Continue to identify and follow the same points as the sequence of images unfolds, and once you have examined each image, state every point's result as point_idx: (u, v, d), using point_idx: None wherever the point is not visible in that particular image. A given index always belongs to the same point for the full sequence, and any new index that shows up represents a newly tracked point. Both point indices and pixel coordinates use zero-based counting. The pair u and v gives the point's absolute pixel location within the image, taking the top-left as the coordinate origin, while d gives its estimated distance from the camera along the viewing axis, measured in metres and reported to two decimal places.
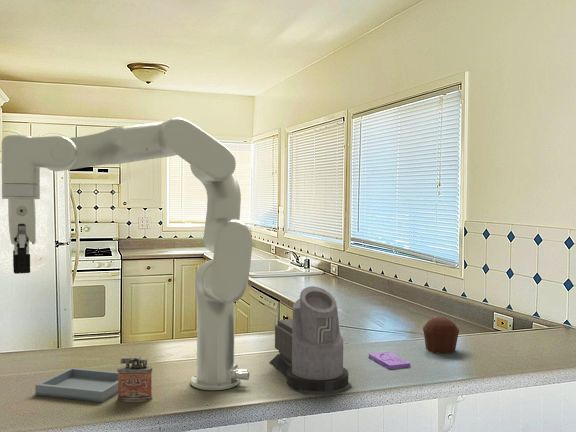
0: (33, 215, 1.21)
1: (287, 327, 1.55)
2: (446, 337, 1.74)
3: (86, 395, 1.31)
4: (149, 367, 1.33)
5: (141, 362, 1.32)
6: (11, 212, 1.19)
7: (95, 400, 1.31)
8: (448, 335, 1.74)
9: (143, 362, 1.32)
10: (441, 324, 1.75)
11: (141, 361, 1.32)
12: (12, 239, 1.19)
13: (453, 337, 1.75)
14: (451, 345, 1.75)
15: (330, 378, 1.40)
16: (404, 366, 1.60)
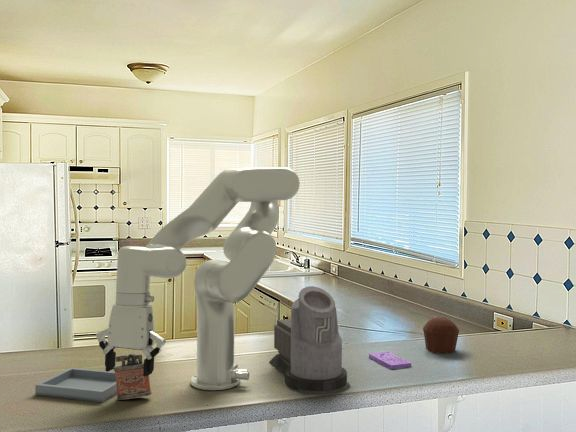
0: None
1: (286, 327, 1.55)
2: (446, 337, 1.74)
3: (86, 395, 1.31)
4: None
5: (136, 358, 1.33)
6: (144, 320, 1.29)
7: (95, 400, 1.31)
8: (448, 335, 1.74)
9: (138, 357, 1.33)
10: (441, 324, 1.75)
11: (136, 357, 1.33)
12: (145, 345, 1.29)
13: (453, 337, 1.75)
14: (451, 345, 1.75)
15: (328, 378, 1.40)
16: (405, 366, 1.60)
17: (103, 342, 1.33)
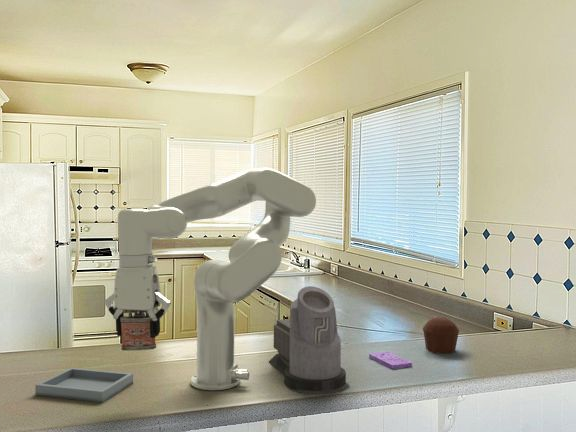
0: None
1: (285, 327, 1.55)
2: (446, 337, 1.74)
3: (86, 395, 1.31)
4: None
5: (144, 311, 1.32)
6: (149, 281, 1.29)
7: (95, 400, 1.31)
8: (448, 335, 1.74)
9: (146, 311, 1.32)
10: (441, 324, 1.75)
11: None
12: (152, 305, 1.30)
13: (453, 337, 1.75)
14: (451, 345, 1.75)
15: (327, 378, 1.41)
16: (406, 366, 1.60)
17: (112, 307, 1.33)
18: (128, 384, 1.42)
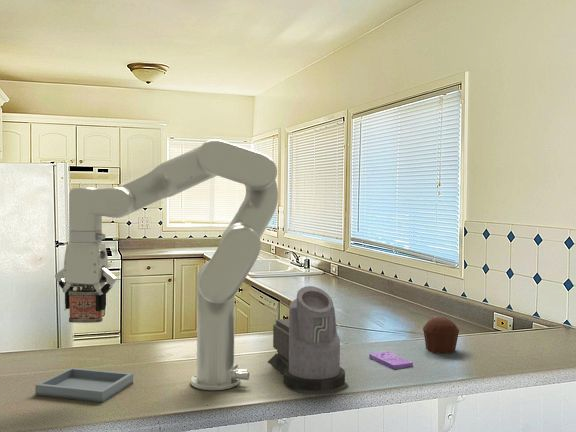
0: None
1: (285, 326, 1.55)
2: (446, 337, 1.74)
3: (86, 395, 1.31)
4: None
5: (91, 285, 1.38)
6: (96, 256, 1.35)
7: (95, 400, 1.31)
8: (448, 335, 1.74)
9: (93, 285, 1.38)
10: (441, 324, 1.75)
11: None
12: (98, 280, 1.35)
13: (453, 337, 1.75)
14: (451, 345, 1.75)
15: (326, 377, 1.41)
16: (407, 365, 1.61)
17: (62, 281, 1.40)
18: (128, 384, 1.42)
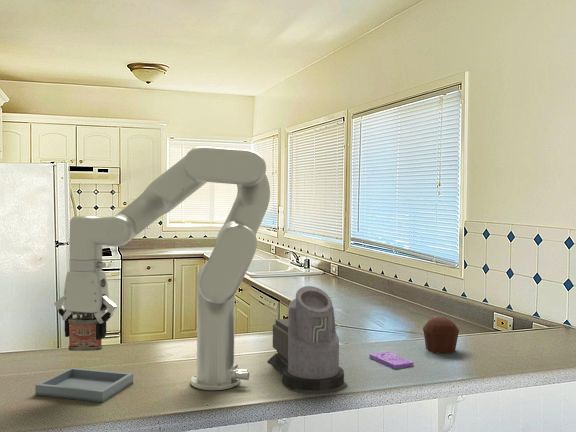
0: None
1: (284, 326, 1.56)
2: (446, 337, 1.74)
3: (86, 395, 1.31)
4: None
5: (91, 313, 1.38)
6: (96, 285, 1.36)
7: (95, 400, 1.31)
8: (448, 335, 1.74)
9: None
10: (441, 324, 1.75)
11: None
12: (98, 308, 1.36)
13: (453, 337, 1.75)
14: (451, 345, 1.75)
15: (325, 377, 1.41)
16: (408, 365, 1.61)
17: (62, 309, 1.40)
18: (128, 384, 1.42)
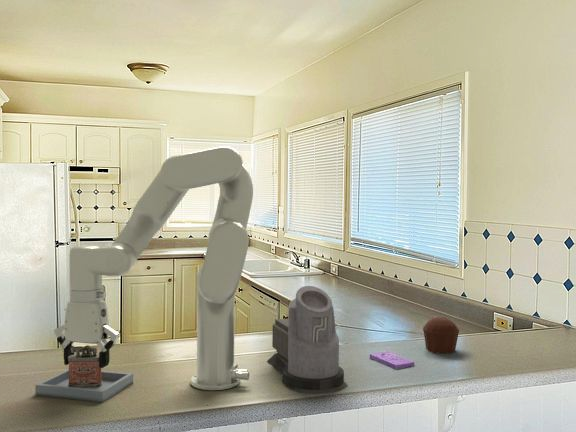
0: None
1: (284, 326, 1.56)
2: (446, 337, 1.74)
3: (86, 395, 1.31)
4: None
5: (91, 351, 1.39)
6: (97, 315, 1.36)
7: (95, 400, 1.31)
8: (448, 335, 1.74)
9: (93, 350, 1.39)
10: (441, 324, 1.75)
11: (91, 350, 1.39)
12: (99, 339, 1.36)
13: (453, 337, 1.75)
14: (451, 345, 1.75)
15: (325, 377, 1.41)
16: (409, 365, 1.61)
17: (61, 337, 1.40)
18: (128, 384, 1.42)
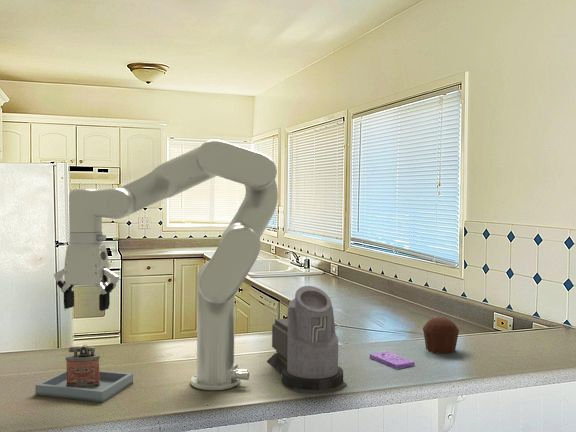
0: None
1: (283, 326, 1.56)
2: (446, 337, 1.74)
3: (86, 395, 1.31)
4: (97, 355, 1.40)
5: (89, 350, 1.39)
6: (97, 257, 1.35)
7: (95, 400, 1.31)
8: (448, 335, 1.74)
9: (91, 350, 1.39)
10: (441, 324, 1.75)
11: (89, 349, 1.39)
12: (99, 281, 1.36)
13: (453, 337, 1.75)
14: (451, 345, 1.75)
15: (324, 377, 1.41)
16: (409, 365, 1.61)
17: (61, 281, 1.40)
18: (128, 384, 1.42)
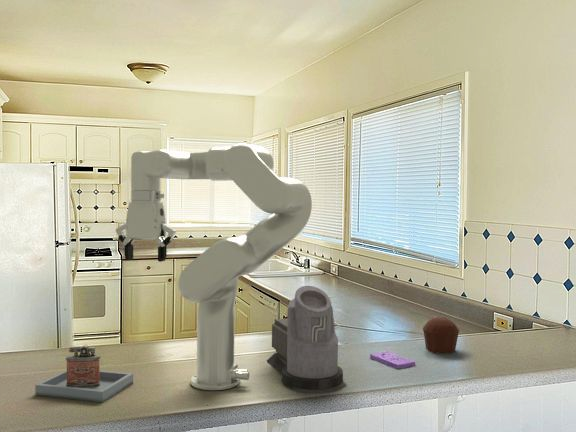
0: None
1: (283, 326, 1.56)
2: (446, 337, 1.74)
3: (86, 395, 1.31)
4: (97, 355, 1.40)
5: (89, 350, 1.39)
6: (156, 213, 1.50)
7: (95, 400, 1.31)
8: (448, 335, 1.74)
9: (91, 350, 1.39)
10: (441, 324, 1.75)
11: (89, 349, 1.39)
12: (158, 234, 1.50)
13: (453, 337, 1.75)
14: (451, 345, 1.75)
15: (324, 377, 1.41)
16: (410, 365, 1.61)
17: (122, 236, 1.54)
18: (128, 384, 1.42)
